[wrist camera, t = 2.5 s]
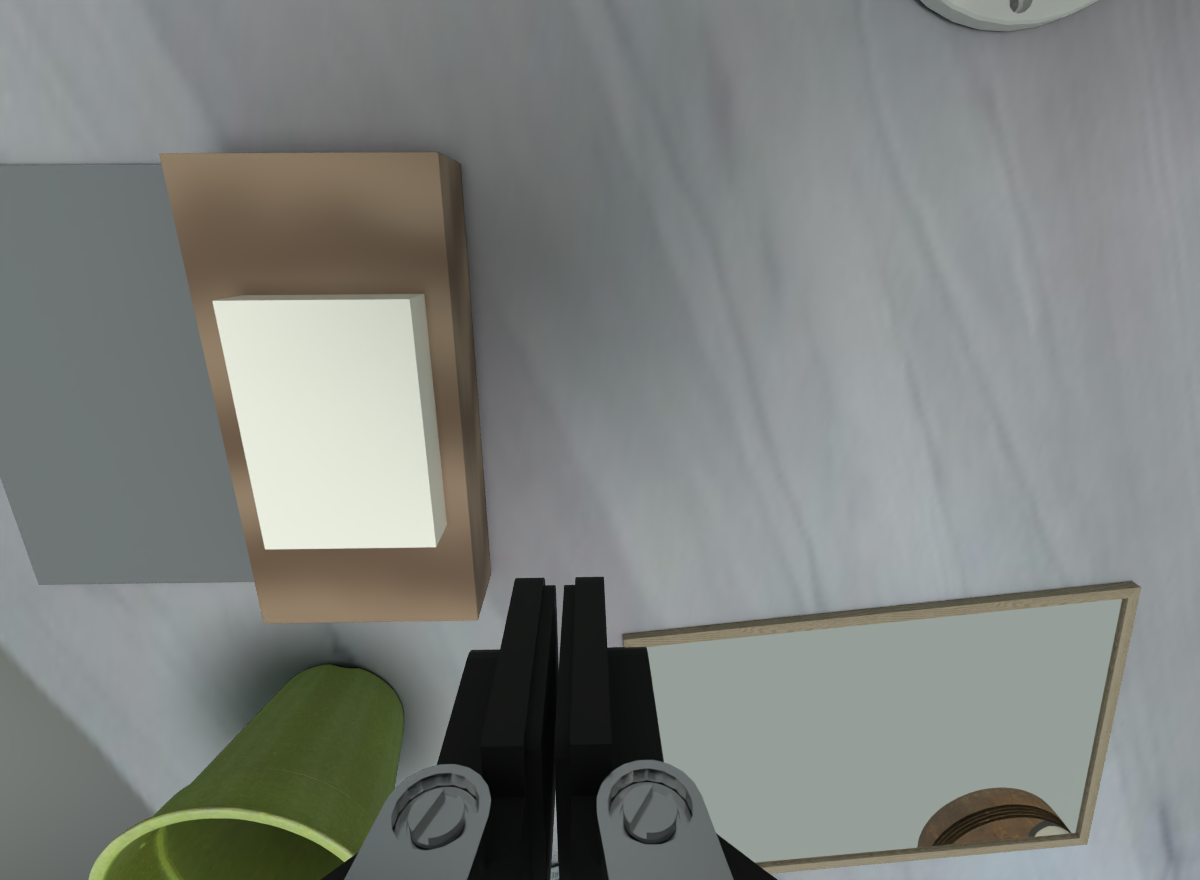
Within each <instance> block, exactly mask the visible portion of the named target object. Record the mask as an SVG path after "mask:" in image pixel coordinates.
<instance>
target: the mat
mask: <svg viewBox="0 0 1200 880" xmlns="http://www.w3.org/2000/svg"><path fill="white" fill-rule="evenodd" d="M0 478H1V480H2V483H3V486H4V489H5V492H6V494H7V497H8V500H9V503H10V506H11V508H12V511H13V514H14V517H15V519H16V522H17V525H18V528H19V531H20V533H21V536H22V539H23V542H24V545H25V547H26V550H27V553H28V556H29V559H30V561H31V564H32V567H33V570H34V573H35V575H36V578H37V581H38V584H39V585H59V584H132V583H206V582H255V581H254V577H253V572H252V568H251V563H250V559H249V554H248V550H247V545H246V541H245V536H244V532H243V527H242V523H241V518H240V514H239V509H238V505H237V500H236V496H235V491H234V487H233V482H232V478H231V473H230V469H229V465H228V460H227V456H226V451H225V447H224V442H223V438H222V433H221V429H220V424H219V420H218V415H217V411H216V406H215V402H214V397H213V393H212V388H211V384H210V379H209V375H208V370H207V366H206V361H205V357H204V352H203V348H202V343H201V339H200V334H199V330H198V325H197V321H196V316H195V312H194V307H193V303H192V298H191V294H190V289H189V285H188V280H187V276H186V271H185V267H184V262H183V258H182V253H181V249H180V244H179V240H178V235H177V231H176V226H175V222H174V217H173V213H172V208H171V204H170V199H169V195H168V191H167V186H166V182H165V177H164V173H163V168H162V164H155V165H0Z"/></svg>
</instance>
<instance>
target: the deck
mask: <svg viewBox="0 0 1200 880" xmlns="http://www.w3.org/2000/svg"><path fill="white" fill-rule="evenodd" d="M159 155H160V159H161V164H162V168H163V173H164V177H165V182H166V186H167V191H168V195H169V199H170V204H171V208H172V213H173V217H174V222H175V226H176V231H177V235H178V240H179V244H180V249H181V253H182V258H183V262H184V267H185V271H186V276H187V280H188V285H189V289H190V294H191V298H192V303H193V307H194V312H195V316H196V321H197V325H198V330H199V334H200V339H201V343H202V348H203V352H204V357H205V361H206V366H207V370H208V375H209V379H210V384H211V388H212V393H213V397H214V402H215V406H216V411H217V415H218V420H219V424H220V429H221V433H222V438H223V442H224V447H225V451H226V456H227V460H228V465H229V469H230V473H231V478H232V482H233V487H234V491H235V496H236V500H237V505H238V509H239V514H240V518H241V523H242V527H243V532H244V536H245V541H246V545H247V550H248V554H249V559H250V563H251V568H252V572H253V577H254V581H255V586H256V590H257V595H258V599H259V604H260V608H261V613H262V617H263V622H264V623H321V622H390V621H459V620H478V618H479V614H480V611H481V608H482V604H483V601H484V597H485V594H486V590H487V587H488V583H489V580H490V576H491V567H490V554H489V540H488V527H487V514H486V500H485V487H484V473H483V460H482V447H481V433H480V420H479V406H478V393H477V379H476V366H475V353H474V339H473V326H472V312H471V299H470V286H469V272H468V259H467V245H466V232H465V219H464V205H463V192H462V178H461V165H460V164H459V163H457V162H456V161H454V160H452V159H450V158H448V157H446V156H444V155H442V154H440V153H439V152H371V153H159ZM339 294H424V297H425V307H426V317H427V327H428V337H429V347H430V358H431V368H432V378H433V388H434V398H435V408H436V418H437V428H438V438H439V449H440V459H441V469H442V479H443V489H444V499H445V509H446V519H447V526H446V528H445V530H444V532H443V534H442V536H441V538H440V540H439V542H438V545H437V547H419V548H342V549H265V547H264V542H263V538H262V533H261V528H260V523H259V519H258V514H257V509H256V505H255V500H254V495H253V490H252V486H251V481H250V476H249V472H248V467H247V462H246V457H245V453H244V448H243V443H242V439H241V434H240V429H239V424H238V420H237V415H236V410H235V405H234V401H233V396H232V391H231V387H230V382H229V377H228V372H227V368H226V363H225V358H224V354H223V349H222V344H221V339H220V335H219V330H218V325H217V321H216V316H215V311H214V306H213V302H212V301H214V300H219V299H225V298H230V297H236V296H241V295H339Z"/></svg>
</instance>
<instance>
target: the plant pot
mask: <svg viewBox="0 0 1200 880" xmlns="http://www.w3.org/2000/svg"><path fill="white" fill-rule="evenodd" d="M403 729H404V712H403V708H402V705H401V703H400V701H399V699H398V697H397V695H396V694H395V692H394V691H393V690H392V689H391V687H390V686H389V685H388V684H386V683H385V682H384V681H383V680H382V679H380V678H379V677H377V676H376V675H374V674H372V673H370V672H368V671H366V670H363V669H360V668H343V667H338V666H334V665H331V664H328V665H320V666H316V667H313V668H310V669H307V670H304V671H302V672H300V673H299V674H297V675H296V676H294V677H293V678H292V679H291V680H290V681H289V682H288V683H287V684H286V685H285V686H284V687H283V688H282V689H281V690H280V691H279V692H278V693H277V694H276V695H275V696H274V697H273V698H272V699H271V700H270V701H269V702H268V703H267V704H266V705H265V707H264V708H263V709H262V710H261V711H260V712H259V713H258V714H257V715H256V716H255V717H254V718H253V719H252V720H251V721H250V722H249V723H248V724H247V725H246V727H245V728H244V729H243V730H242V731H241V732H240V733H239V734H238V735H237V736H236V737H235V738H234V739H233V740H232V741H231V742H230V743H229V744H228V746H227V747H226V748H225V749H224V750H223V751H222V752H221V753H220V754H219V755H218V756H217V757H216V758H215V759H214V760H213V761H212V762H211V763H210V764H209V765H208V766H207V767H206V768H205V769H204V770H203V772H202V773H201V774H200V775H199V776H198V777H197V778H196V779H195V780H194V781H193V782H192V783H191V784H190V785H188V786H187V787H185V788H183V789H182V790H180V791H179V792H178V793H177V794H176V795H174V796H173V797H172V798H171V799H170V800H169V801H168V802H167V803H166V804H165V805H164V806H163V807H162V808H161V809H160V810H159V811H158V812H157V813H156V814H155V815H154V816H153V817H151V818H148V819H146V820H144V821H142V822H140V823H138V824H136V825H134V826H133V827H131V828H129V829H128V830H126V831H125V832H123V833H122V834H121V835H119V836H118V837H117V838H116V839H114V840H113V841H112V842H111V843H110V845H108V847H107V848H106V849H105V850H104V851H103V852H102V853H101V854H100V856H99V857H98V858H97V860H96V862H95V863H94V865H93V868H92V870H91V873H90V875H89V880H321V879H322V878H323V877H325V876H326V875H328V874H329V873H330V872H332V871H333V870H334V869H336V868H337V867H339V866H340V865H341V864H343V863H344V862H345V861H347V860H348V859H350V858H351V857H352V856H354V855H355V854H356V853H358V852H359V850H360V849H361V847H362V845H363V843H364V841H365V839H366V837H367V835H368V833H369V831H370V830H371V828H372V826H373V824H374V822H375V820H376V818H377V816H378V814H379V812H380V810H381V809H382V807H383V805H384V803H385V801H386V800H387V799H388V797H389V796H390V794H391V793H392V792H393V790H394V788H395V782H396V775H397V769H398V762H399V756H400V750H401V743H402V736H403Z"/></svg>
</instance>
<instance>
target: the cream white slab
mask: <svg viewBox="0 0 1200 880" xmlns="http://www.w3.org/2000/svg"><path fill="white" fill-rule="evenodd" d="M212 302H213V306H214V311H215V316H216V321H217V325H218V330H219V335H220V339H221V344H222V349H223V354H224V358H225V363H226V368H227V372H228V377H229V382H230V387H231V391H232V396H233V401H234V405H235V410H236V415H237V420H238V424H239V429H240V434H241V439H242V443H243V448H244V453H245V457H246V462H247V467H248V472H249V476H250V481H251V486H252V490H253V495H254V500H255V505H256V509H257V514H258V519H259V523H260V528H261V533H262V538H263V542H264V547H265V549H342V548H419V547H437V545H438V542H439V540H440V538H441V536H442V534H443V532H444V530H445V528H446V526H447V519H446V509H445V499H444V489H443V479H442V469H441V459H440V449H439V438H438V428H437V418H436V408H435V398H434V388H433V378H432V368H431V358H430V347H429V337H428V327H427V317H426V307H425V297H424V294H339V295H241V296H236V297H230V298H225V299H219V300H214V301H212Z"/></svg>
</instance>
